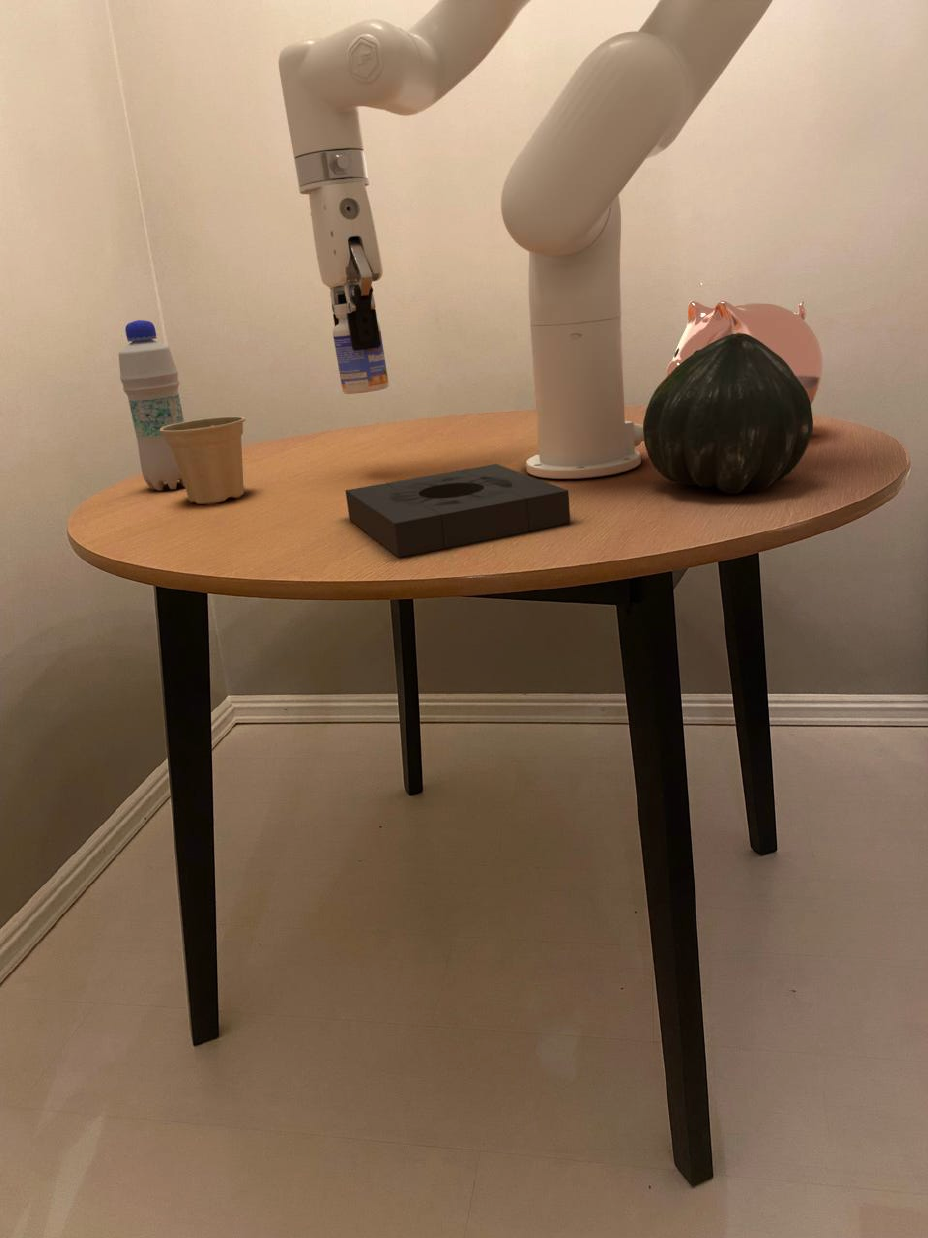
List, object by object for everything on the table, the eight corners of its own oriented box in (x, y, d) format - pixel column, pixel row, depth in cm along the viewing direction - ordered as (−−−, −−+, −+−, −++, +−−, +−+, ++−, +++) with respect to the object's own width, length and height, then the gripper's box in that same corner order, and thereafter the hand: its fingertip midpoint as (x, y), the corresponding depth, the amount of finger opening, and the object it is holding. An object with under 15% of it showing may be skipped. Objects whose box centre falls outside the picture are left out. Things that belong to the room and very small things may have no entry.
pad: (498, 492, 97) (496, 463, 96) (570, 523, 83) (568, 490, 82) (349, 520, 92) (345, 490, 91) (398, 558, 78) (394, 523, 77)
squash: (683, 410, 100) (652, 308, 88) (831, 415, 92) (820, 303, 80) (648, 523, 95) (610, 430, 83) (801, 537, 88) (784, 437, 76)
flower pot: (170, 498, 111) (155, 424, 108) (249, 484, 114) (236, 412, 111) (180, 513, 103) (164, 433, 100) (265, 497, 106) (252, 420, 103)
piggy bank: (641, 441, 115) (637, 305, 110) (768, 420, 120) (770, 288, 114) (708, 460, 102) (706, 305, 96) (849, 436, 106) (855, 286, 100)
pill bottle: (381, 391, 105) (368, 300, 102) (336, 396, 107) (321, 306, 103) (394, 385, 110) (382, 298, 107) (351, 389, 112) (337, 303, 108)
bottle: (210, 480, 119) (178, 315, 112) (174, 493, 113) (139, 320, 106) (169, 480, 122) (136, 319, 115) (133, 492, 116) (95, 324, 109)
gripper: (388, 158, 94) (414, 344, 100) (345, 182, 109) (370, 342, 116) (316, 164, 92) (346, 355, 98) (282, 188, 107) (311, 351, 113)
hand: (359, 346), depth 107 cm, fingers closed on pill bottle, 5 cm apart
